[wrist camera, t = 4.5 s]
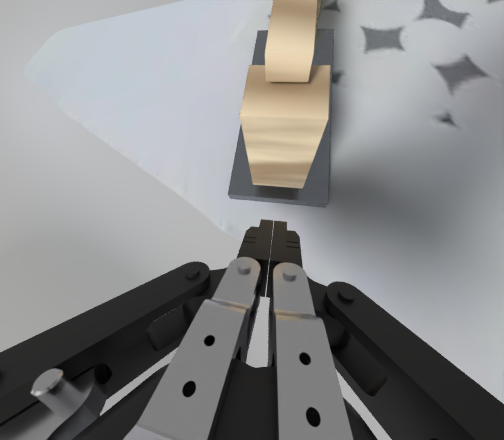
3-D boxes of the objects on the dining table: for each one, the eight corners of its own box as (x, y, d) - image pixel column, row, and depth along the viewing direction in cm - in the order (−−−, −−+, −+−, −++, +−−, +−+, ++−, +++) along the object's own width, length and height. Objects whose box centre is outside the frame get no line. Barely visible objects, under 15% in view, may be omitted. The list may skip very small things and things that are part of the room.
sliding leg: (300, 194, 20) (341, 84, 9) (254, 190, 21) (233, 82, 9) (310, 57, 26) (344, -126, 14) (273, 57, 26) (275, -118, 15)
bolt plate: (324, 207, 21) (387, 128, 10) (230, 198, 23) (189, 120, 11) (330, 38, 29) (371, -120, 17) (258, 39, 30) (250, -106, 19)
